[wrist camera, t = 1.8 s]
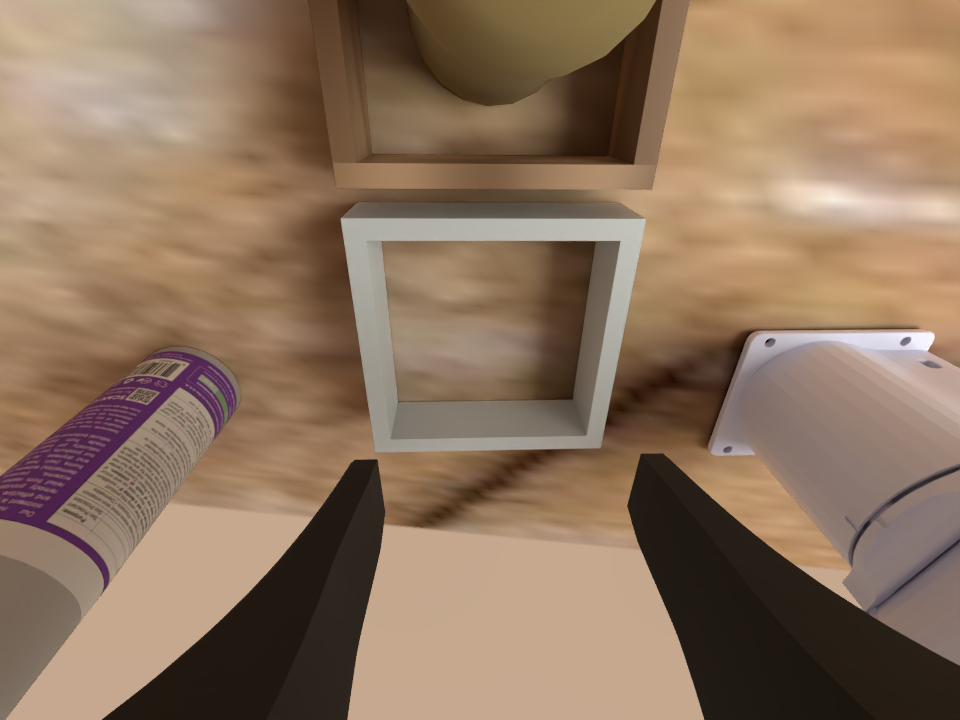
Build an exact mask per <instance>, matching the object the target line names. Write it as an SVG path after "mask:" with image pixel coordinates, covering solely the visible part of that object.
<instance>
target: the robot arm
mask: <svg viewBox="0 0 960 720" xmlns="http://www.w3.org/2000/svg"><path fill="white" fill-rule="evenodd" d="M934 338H935V336H934V334H933V333H932V332H930V331H928V330H925V329H889V330H778V331H755V332H753V333H751V334H750V335H749V336H748V338H747V340H746V342H745V345H744V348H743V351H742V353H741V356H740V359H739V362H738V364H737V367H736V370H735V373H734V375H733V378H732V381H731V384H730V386H729V389H728V392H727V395H726V397H725V400H724V403H723V406H722V408H721V411H720V414H719V417H718V419H717V422H716V425H715V428H714V431H713V433H712V436H711V439H710V442H709V444H708V450H709V452H710V453H711V454H712V455H714V456H731V455H756V456H757V457H758V458H759V459H760V460H761V461H762V463H763V464H764V465H765V466H766V467H767V469H768V470H769V471H770V472H771V473H772V474H773V476H774V477H775V478H776V479H777V480H778V482H779V483H780V484H781V485H782V486H783V487H784V489H785V490H786V491H787V492H788V493H789V495H790V496H791V497H792V498H793V499H794V500H795V502H796V503H797V504H798V505H799V506H800V508H801V509H802V510H803V511H804V512H805V513H806V515H807V516H808V517H809V518H810V519H811V521H812V522H813V523H814V524H815V525H816V526H817V528H818V529H819V530H820V531H821V532H822V534H823V535H824V536H825V537H826V538H827V539H828V541H829V542H830V543H831V544H832V545H833V547H834V548H835V549H836V550H837V551H838V552H839V554H840V555H841V556H842V557H843V558H844V560H845V561H846V562H847V563H848V564H849V565H850V567H851V568H852V570H851V572H850V573H849V575H848V576H847V577H846V578H845V579H844V580H843V582H842V583H843V584H844V586H845V587H846V588H847V589H848V591H849V592H850V593H851V594H852V596H853V597H854V598H855V599H856V601H857V602H858V603H859V604H860V606H861V607H862V608H861V609H860V608H858V607H856V606H855V605H853V604H852V603H850V602H848V601H847V600H845V599H844V598H842V597H841V596H839V595H838V594H836V593H834V592H833V591H831V590H830V589H828V588H827V587H825V586H824V585H822V584H821V583H819V582H818V581H816V580H815V579H814V578H812V577H811V576H809V575H808V574H807V573H805V572H804V571H802V570H801V569H800V568H798V567H797V566H795V565H794V564H793V563H791V562H790V561H788V560H787V559H786V558H784V557H783V556H782V555H780V554H779V553H778V552H776V551H775V550H774V549H772V548H771V547H770V546H768V545H767V544H766V543H765V542H763V541H762V540H761V539H760V538H758V537H757V536H756V535H755V534H753V533H752V532H751V531H750V530H748V529H747V528H746V527H745V526H744V525H742V524H741V523H740V522H739V521H738V520H736V519H735V518H734V517H733V516H732V515H731V514H729V513H728V512H727V511H726V510H725V509H724V508H722V507H721V506H720V505H719V504H718V503H717V502H716V501H714V500H713V499H712V498H711V497H710V496H709V495H708V494H707V493H706V492H704V491H703V490H702V489H701V488H700V487H699V486H698V485H697V484H696V483H695V482H694V481H692V480H691V479H690V478H689V477H688V476H687V475H686V474H685V473H684V472H683V471H682V470H681V469H679V468H678V467H677V466H676V465H675V464H674V463H673V462H672V461H671V460H670V459H668V458H667V457H666V456H665V455H664V454H641V456H640V460H639V463H638V467H637V471H636V475H635V479H634V482H633V486H632V490H631V494H630V498H629V501H628V505H627V506H628V510H629V513H630V517H631V521H632V524H633V528H634V531H635V534H636V538H637V541H638V543H639V546H640V548H641V551H642V553H643V555H644V558H645V560H646V563H647V565H648V567H649V570H650V572H651V574H652V577H653V579H654V581H655V584H656V586H657V588H658V591H659V593H660V595H661V598H662V600H663V602H664V605H665V607H666V609H667V611H668V614H669V616H670V618H671V621H672V623H673V626H674V628H675V631H676V633H677V636H678V638H679V641H680V644H681V647H682V650H683V653H684V656H685V659H686V662H687V665H688V668H689V671H690V674H691V677H692V680H693V683H694V686H695V690H696V693H697V697H698V700H699V703H700V706H701V710H702V713H703V716H704V720H960V368H958V367H956V366H954V365H952V364H950V363H948V362H947V361H945V360H943V359H941V358H939V357H937V356H935V355H933V354H931V353H930V352H928V349H929V347H930V346H931V344H932V342H933V340H934ZM768 339H770V340H769V342H767V343H765V342H766V340H768ZM725 447H726V448H725ZM384 517H385V508H384V501H383V494H382V487H381V481H380V474H379V467H378V460H377V459H372V460H354V461H353V462H352V463H351V464H350V465H349V467H348V469H347V470H346V472H345V473H344V475H343V476H342V478H341V479H340V481H339V482H338V484H337V485H336V487H335V488H334V490H333V491H332V493H331V494H330V495H329V497H328V498H327V500H326V501H325V503H324V504H323V505H322V507H321V508H320V509H319V511H318V512H317V513H316V515H315V516H314V517H313V519H312V520H311V521H310V523H309V524H308V525H307V527H306V528H305V529H304V531H303V532H302V533H301V534H300V535H299V536H298V538H297V539H296V540H295V541H294V543H293V544H292V545H291V546H290V548H289V549H288V550H287V551H286V552H285V554H284V555H283V556H282V557H281V558H280V559H279V561H278V562H277V563H276V564H275V565H274V566H273V567H272V568H271V570H270V571H269V572H268V573H267V574H266V575H265V576H264V577H263V578H262V579H261V580H260V581H259V582H258V584H257V585H256V586H255V587H254V588H253V589H252V590H251V591H250V592H249V593H248V594H247V595H246V596H245V597H244V598H243V599H242V600H241V601H240V602H239V603H238V604H237V605H236V606H235V607H234V608H233V609H232V610H231V611H230V612H229V613H228V614H227V615H226V616H225V617H224V618H223V619H222V620H220V622H218V623H217V624H216V625H215V626H214V627H213V628H212V629H211V630H210V631H209V632H208V633H207V634H205V635H204V636H203V637H202V638H201V639H200V640H199V641H197V642H196V643H195V644H194V645H193V646H192V647H191V648H189V649H188V650H187V651H186V652H185V653H184V654H182V655H181V656H180V657H179V658H178V659H177V660H175V661H174V662H173V663H172V664H171V665H170V666H169V667H167V668H166V669H165V670H164V671H163V672H162V673H160V674H159V675H158V676H157V677H156V678H154V679H153V680H152V681H151V682H149V683H148V684H147V685H146V686H144V687H143V688H142V689H141V690H139V691H138V692H137V693H136V694H134V695H133V696H132V697H130V698H129V699H128V700H126V701H125V702H124V703H123V704H121V705H120V706H119V707H118V708H116V709H115V710H114V711H112V712H111V713H110V714H108V715H107V716H106V717H105V718H103V719H102V720H347V717H348V710H349V703H350V696H351V689H352V682H353V675H354V668H355V661H356V655H357V650H358V645H359V639H360V635H361V630H362V626H363V622H364V618H365V614H366V609H367V605H368V601H369V596H370V592H371V588H372V584H373V580H374V575H375V571H376V567H377V562H378V558H379V554H380V549H381V542H382V534H383V525H384Z"/></svg>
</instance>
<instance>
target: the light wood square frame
mask: <svg viewBox="0 0 960 720" xmlns="http://www.w3.org/2000/svg"><path fill="white" fill-rule="evenodd" d="M308 1H309V8H310V15H311V22H312V28H313V35H314V42H315V49H316V55H317V62H318V69H319V76H320V82H321V89H322V96H323V103H324V109H325V116H326V123H327V130H328V136H329V143H330V150H331V157H332V163H333V170H334V177H335V184H336V188H362V189H590V190H652V187H653V182H654V177H655V172H656V167H657V162H658V157H659V152H660V147H661V142H662V137H663V132H664V127H665V122H666V117H667V112H668V107H669V102H670V97H671V92H672V87H673V82H674V77H675V72H676V67H677V61H678V56H679V51H680V46H681V41H682V36H683V31H684V26H685V21H686V16H687V11H688V6H689V1H690V0H656V1H655V3H654V5H653V6H652V8H651V9H650V11H649V13H648V14H647V16H646V17H645V19H644V20H643V21H642V22H641V23H640V24H639V25H638V26H637V27H636V28H634V29H633V30H632V31H631V32H630V33H629V34H628V35H627V36H626V37H625V43H624V50H623V57H622V64H621V71H620V78H619V85H618V92H617V98H616V105H615V112H614V119H613V126H612V133H611V140H610V147H609V153H608V156H548V155H415V154H372V147H371V138H370V128H369V119H368V109H367V99H366V90H365V80H364V71H363V61H362V52H361V42H360V32H359V23H358V13H357V4H356V0H308Z"/></svg>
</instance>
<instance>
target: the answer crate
mask: <svg viewBox="0 0 960 720" xmlns="http://www.w3.org/2000/svg"><path fill="white" fill-rule="evenodd" d="M645 222H646V218H644V217H642V216H641V215H639V214H637V213H636V212H634V211H633V210H631V209H629V208H628V207H626V206H624V205H623V204H621V203H519V202H357V203H356V204H355V205H354V206H353V207H352V208H351V209H350V210H349V211H348V212H347V213H346V214H345V215H344V216H343V217H342V218H341V224H342V231H343V238H344V245H345V251H346V258H347V265H348V272H349V278H350V285H351V292H352V299H353V305H354V312H355V319H356V326H357V332H358V339H359V346H360V353H361V359H362V366H363V373H364V380H365V386H366V393H367V400H368V407H369V413H370V420H371V427H372V434H373V440H374V447H375V453H380V452H430V451H480V450H530V449H580V448H601V443H602V438H603V433H604V428H605V423H606V418H607V413H608V408H609V403H610V398H611V393H612V388H613V383H614V378H615V373H616V368H617V363H618V358H619V353H620V348H621V343H622V338H623V333H624V328H625V323H626V318H627V313H628V308H629V303H630V298H631V293H632V288H633V283H634V277H635V272H636V267H637V262H638V257H639V252H640V247H641V242H642V237H643V232H644V227H645ZM381 241H596V243H595V250H594V257H593V263H592V270H591V277H590V284H589V291H588V298H587V305H586V312H585V318H584V325H583V332H582V339H581V346H580V353H579V360H578V367H577V373H576V380H575V387H574V394H573V399H571V400H506V401H441V402H398V396H397V386H396V377H395V367H394V358H393V348H392V339H391V329H390V319H389V310H388V300H387V291H386V281H385V272H384V262H383V252H382V243H381Z"/></svg>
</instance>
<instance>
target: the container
mask: <svg viewBox="0 0 960 720" xmlns="http://www.w3.org/2000/svg"><path fill="white" fill-rule="evenodd" d="M240 397H241V395H240V388H239V384H238V382H237V380H236V378H235V377H234V375H233V374H232V372H231V371H230V370H229V369H228V368H227V367H226V366H225V365H224V364H223V363H222V362H220V361H219V360H218V359H216V358H215V357H213V356H211V355H209V354H207V353H205V352H203V351H200V350H197V349H193V348H189V347H167V348H163V349H160V350H158V351H156V352H154V353H153V354H151V355H150V356H149V357H148V358H146V359H145V360H144V361H142V362H141V363H140V364H139V365H137V366H136V367H135V368H134V369H132V370H131V371H130V372H129V373H127V374H126V375H125V376H124V377H123V378H121V379H120V380H119V381H118V382H116V383H115V384H114V385H113V386H111V387H110V388H109V389H108V390H106V391H105V392H104V393H103V394H101V395H100V396H99V397H98V398H97V399H95V400H94V401H93V402H92V403H90V404H89V405H88V406H87V407H85V408H84V409H83V410H82V411H80V412H79V413H78V414H77V415H76V416H74V417H73V418H72V419H71V420H69V421H68V422H67V423H66V424H64V425H63V426H62V427H61V428H59V429H58V430H57V431H56V432H54V433H53V434H52V435H51V436H50V437H48V438H47V439H46V440H45V441H43V442H42V443H41V444H40V445H38V446H37V447H36V448H35V449H33V450H32V451H31V452H30V453H28V454H27V455H26V456H25V457H24V458H22V459H21V460H20V461H19V462H17V463H16V464H15V465H14V466H12V467H11V468H10V469H9V470H7V471H6V472H5V473H4V474H2V475H1V476H0V720H5V719H6V718H7V717H8V716H9V714H10V713H11V712H12V710H13V709H14V708H15V706H16V705H17V704H18V703H19V701H20V700H21V699H22V697H23V696H24V695H25V693H26V692H27V691H28V689H29V688H30V687H31V685H32V684H33V683H34V682H35V680H36V679H37V677H38V676H39V675H40V673H41V672H42V671H43V670H44V669H45V667H46V666H47V665H48V663H49V662H50V661H51V659H52V658H53V657H54V655H55V654H56V653H57V652H58V650H59V649H60V647H61V646H62V645H63V644H64V642H65V641H66V640H67V639H68V637H69V636H70V635H71V633H72V632H73V631H74V629H75V628H76V627H77V625H78V624H79V623H80V622H81V620H82V619H83V618H84V616H85V615H86V614H87V613H88V611H89V610H90V608H91V607H92V606H93V605H94V603H95V602H96V601H97V600H98V598H99V597H100V596H101V594H102V593H103V592H104V590H105V589H106V588H107V586H108V585H109V583H110V582H111V581H112V579H113V578H114V577H115V575H116V574H117V572H118V571H119V570H120V568H121V567H122V566H123V564H124V562H126V560H127V559H128V557H129V556H130V555H131V553H132V552H133V551H134V549H135V548H136V546H137V545H138V544H139V542H140V541H141V539H142V538H143V537H144V536H145V534H146V533H147V531H148V530H149V529H150V527H151V526H152V525H153V523H154V522H155V520H156V519H157V518H158V516H159V515H160V514H161V512H162V511H163V509H164V508H165V507H166V505H167V504H168V503H169V501H170V500H171V498H172V497H173V496H174V494H175V493H176V492H177V490H178V489H179V488H180V486H181V485H182V483H183V482H184V481H185V479H186V478H187V477H188V475H189V474H190V472H191V471H192V470H193V468H194V467H195V466H196V464H197V463H198V461H199V460H200V459H201V457H202V456H203V455H204V453H205V452H206V450H207V449H208V448H209V446H210V445H211V444H212V442H213V441H214V439H215V438H216V437H217V435H218V434H219V433H220V431H221V430H222V429H223V427H224V426H225V424H226V423H227V422H228V420H229V419H230V418H231V416H232V415H233V413H234V412H235V410H236V409H237V407H238V405H239V402H240Z"/></svg>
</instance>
